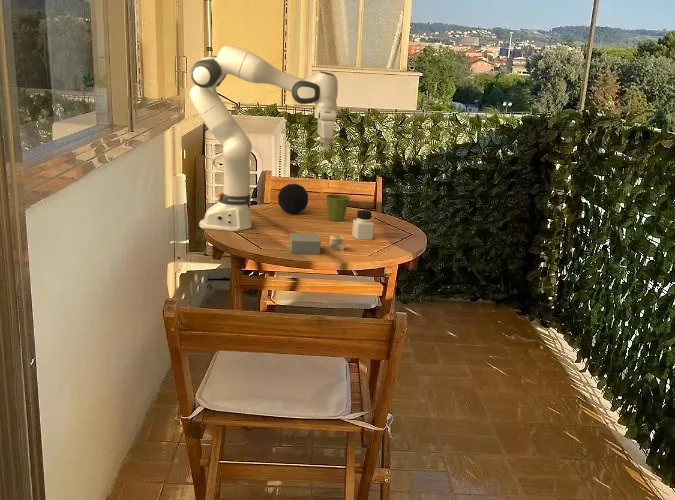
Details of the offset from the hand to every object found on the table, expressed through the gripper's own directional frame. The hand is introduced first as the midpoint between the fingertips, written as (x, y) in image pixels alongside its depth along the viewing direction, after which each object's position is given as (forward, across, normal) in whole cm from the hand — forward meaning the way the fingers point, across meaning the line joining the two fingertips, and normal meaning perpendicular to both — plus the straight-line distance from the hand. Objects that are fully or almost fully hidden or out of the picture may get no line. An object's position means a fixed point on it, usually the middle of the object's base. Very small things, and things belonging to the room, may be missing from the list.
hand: (324, 148), depth 259 cm
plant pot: (+38, -31, +12) cm, 50 cm away
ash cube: (+38, +18, +4) cm, 42 cm away
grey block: (+37, +20, -9) cm, 43 cm away
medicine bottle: (+38, -1, +18) cm, 42 cm away
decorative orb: (+37, -42, -8) cm, 57 cm away
